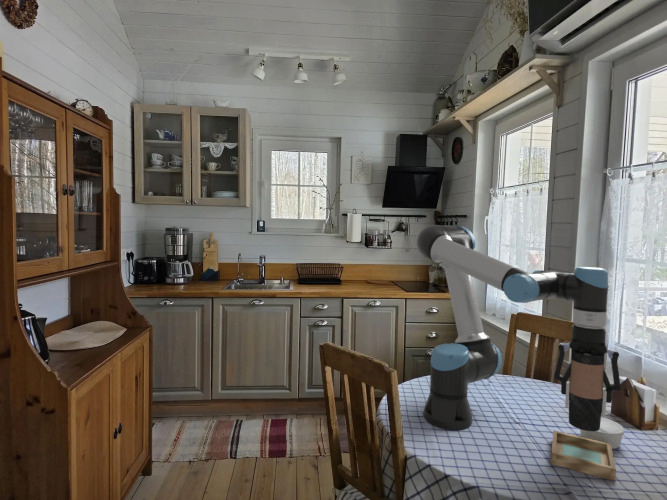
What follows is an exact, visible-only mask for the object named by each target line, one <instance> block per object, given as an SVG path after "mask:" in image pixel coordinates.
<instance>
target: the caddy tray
mask: <svg viewBox="0 0 667 500" xmlns="http://www.w3.org/2000/svg"><path fill="white" fill-rule="evenodd" d="M551 442H552V443H551V460H550V461H551V462H550V464H551V465H554V466H557V467H562V468H565V469H568V470H573V471H575V472H580V473H583V474H587V475H590V476H595V477H598V478H602V479H605V480H609V481H613V482H616V480H617V479H616V475H617V474H616V473H617V468H616V463H615V458H614V454H613V449H612V447H611V444H609V443H605V442H601V441H597V440H592V439H588V438H584V437H582V436H578V435H575V434H570V433H567V432H566V433H565V432H562V431H557V430H554V429H553V430H552V441H551Z"/></svg>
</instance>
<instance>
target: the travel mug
mask: <svg viewBox="0 0 667 500" xmlns="http://www.w3.org/2000/svg"><path fill="white" fill-rule="evenodd" d="M570 362H571V375H570V377H569V382H570V386H569V407H568V423H569V425H571V426H572V427H573V428H575V429H578V430H580V429H581V430H585V431H598V430H599V429H600V422H601V417H602V413H601V411H602V399H603V398H602V397H603V388H604V382H603V368H604V369H605V354H604V355H602V356H592V354H587V353H584V354H580V353H577V352H574V351H573V350H571V352H570Z"/></svg>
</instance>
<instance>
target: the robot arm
mask: <svg viewBox="0 0 667 500" xmlns="http://www.w3.org/2000/svg"><path fill="white" fill-rule="evenodd" d="M416 247H417V250H418V251H419V253H420V254H421V255H422V256H423V257H424V258H426V259H428V260H430V261H432V262H434V263H438V266H440V268H443V270H444V273H445V277H446V283H447V287H448V292H449V297H450V302H451V307H452V311H453V315H454V321H455V326H456V331H457V338H456V339H455V341H454V342H451V343H441V344H438V345H436V346H434V348H433V349H432V350H431V356H430V357H431V358H430V375H429V377H430V378H429V379H430V380H429V382H430V383H429V386H430V387H429V394H428V397H427V400H426V402H425V404H424V407H423V418H424V419H425V421H426V422H428V423H429V424H430V425H432V426H435V427H438V428H440V429H445V430H454V431H455V430H464V429H468V428H469V427H470V426H471V425H472V424H473V412H472V408H471V406H470V402H469V399H468V388H469V387H468V386H469V385H468V384H472V383H475V382H479V381H482V380H488V379H490V378H491V377H493V376H495V375H497V374H498V373H499V371H500V370H501V367H502V363H503V361H502V354H501V351H500V349H499V348H498V347H497V346H496V344H494V343H492V339H491V337H490V336H489V335H488V334H487V333H486V332H484V331H485V330H484V326H483V322H482V316H481V313H480V308H479V304H478V303H479V302H478V300H477V295H476V291H475V290H476V289H475V285H474V280H473V278H474V279H477V280H479V281H481V282H482V283H485V284H487V285H489V286H491V287H493V288H495V289H498V290H500V291H502V292H503V294H504V295H505V296H506V298H507V299H509V301H511V302H512V303H513V302H514V303H521V304H526V303H527V304H528V303H531V302H536V301H542V300H550V299H555V300H556V299H557V300H563V301H572V304H573V305H572V307H573V309H572V322H573V325H572V326H571V327H572V329H571V340H570V342H569V343H563V342H559V343H558V350H559V351H558V356H557V357H558V358H557V361H556V365H555V366H556V367H555V370H554V376H553V377H554V380H557V381H559V382H560V383H561V386H560V393H561V394H562V395H565V400H564V401H565V405H564V406H565V409H569V386H570V375H571V361H570V362H569V364H568V366H567V368H566V369H565V371H564V372H563V375H561V372H562V367H563V364H564V360H565V353H567V352H568V351H569V349H571V350H573V351H574V352H577V353H580V354H584V353H587V354H592V356H602V355H604V356H605V355H606V354H607V355H608V356H607V357H608V358H609V359H610V364H611V371H612V378H613V380H612V381H613V383H611V382H610V380H609V377H608V375H607V372H606V369H605V367H604V368H603V385H604V386H605V387H603V397H602V398H603V399H602V411H601V416H605V417H606V411H607V410H606V409H607V403H609V404H610V403H612V395H613V394H612V393H613V391H621V389H622V388H621V380H620V374H619V373H620V372H619V366H618V359H619V356H620V353H619V351H618V350H617V349H611V348H607V346H606V336H607V335H606V333H607V330H606V328H605V327H606V326H607V310H608V308H607V307H608V306H607V305H608V293H609V287H610V286H609V273H608V271H607V269H605V268H603V267H602V268H601V267H595V266H593V267H590V266H578V267H576V268H575V270H574V272H573V273H569V272H558V271H553V270H552V271H550V270H547V269H546V270H534V271H532V272H528V271H525V270H523V269H520V268H518V267H516V266H513V265H511V264H508V263H506V262H504V261H501V260H500V259H496V258H494V257H491V256H489V255H487V254H484V253H482V252H480V251H477V250H475V248H476V238H475V236H474V233H472V231H471V230H470V229H469V228H467V227H466V226H461V225H457V224H453V225H446V224H445V225H440V224H431V225H428V226H426V227H424V228H423V229H421V230H420V231H419V233H418V235H417V238H416Z"/></svg>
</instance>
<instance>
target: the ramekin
mask: <svg viewBox="0 0 667 500" xmlns="http://www.w3.org/2000/svg"><path fill="white" fill-rule="evenodd" d="M579 432H580V437H584V438H588V439H592V440H597V441H601V442H605V443H609V444H611V447H612V450H615V449H617V448H619V447H620V445H621V444H622V440H623V436H624V433H625V429H624V427H623V426H622V424H619V423H618V422H616V421H614V420H611V419H610V418H607V417H602V416H601V422H600V429H599V430H598V431H585V430H581V429H579Z"/></svg>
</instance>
